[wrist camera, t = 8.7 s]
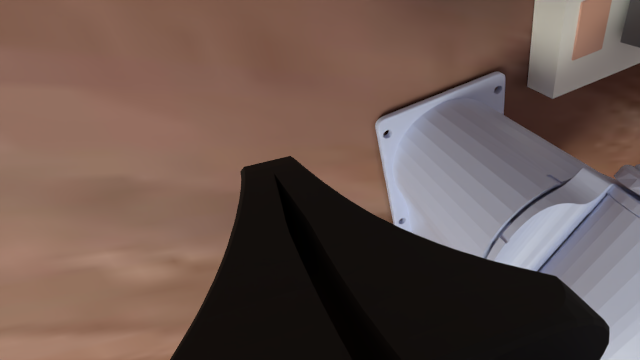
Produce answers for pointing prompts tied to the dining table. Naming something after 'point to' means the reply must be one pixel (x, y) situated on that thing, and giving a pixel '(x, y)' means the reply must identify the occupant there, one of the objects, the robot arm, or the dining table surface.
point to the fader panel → (577, 44)
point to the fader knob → (632, 25)
